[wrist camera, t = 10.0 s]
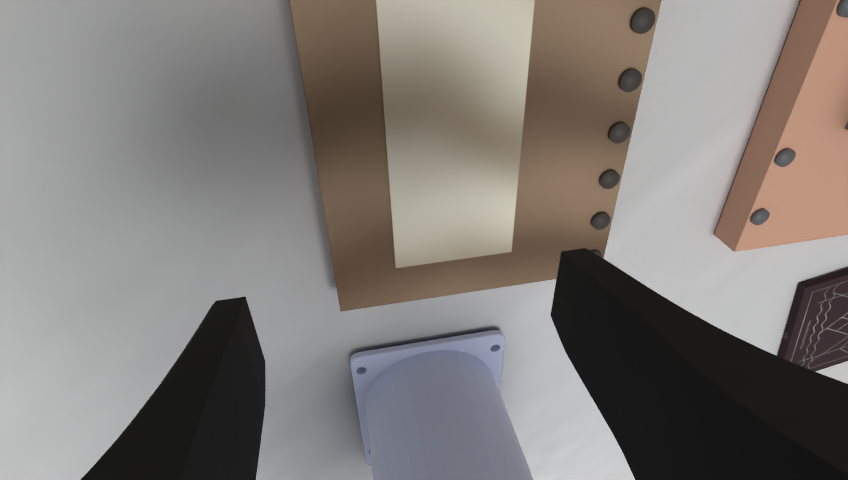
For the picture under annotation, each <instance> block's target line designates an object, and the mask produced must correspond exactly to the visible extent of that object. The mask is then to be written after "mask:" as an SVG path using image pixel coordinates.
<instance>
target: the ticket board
mask: <svg viewBox="0 0 848 480" xmlns="http://www.w3.org/2000/svg"><path fill="white" fill-rule="evenodd" d="M660 4H661V0H290V6H291V12H292V18H293V24H294V30H295V36H296V42H297V48H298V54H299V60H300V67H301V73H302V79H303V85H304V91H305V97H306V103H307V109H308V115H309V121H310V128H311V134H312V140H313V146H314V152H315V158H316V164H317V170H318V176H319V182H320V189H321V195H322V201H323V207H324V213H325V219H326V225H327V231H328V237H329V243H330V250H331V256H332V262H333V268H334V274H335V280H336V286H337V292H338V298H339V305H340V311H347V310H353V309H360V308H367V307H373V306H380V305H386V304H393V303H400V302H406V301H413V300H420V299H426V298H433V297H439V296H446V295H453V294H459V293H466V292H472V291H479V290H486V289H492V288H499V287H505V286H512V285H519V284H525V283H532V282H538V281H545V280H552V279H557V274H558V268H559V262H560V256H561V251H568V250H575V249H582V248H586V249H588V250H590V251H592V252H593V253H595V254H597V255H598V256H600V257H601V258H604V253H605V249H606V244H607V240H608V235H609V231H610V227H611V222H612V218H613V213H614V209H615V204H616V200H617V195H618V191H619V187H620V182H621V178H622V173H623V169H624V164H625V160H626V155H627V151H628V146H629V142H630V138H631V133H632V129H633V124H634V120H635V115H636V111H637V106H638V102H639V98H640V93H641V89H642V84H643V80H644V75H645V71H646V66H647V62H648V58H649V53H650V49H651V44H652V40H653V35H654V31H655V26H656V22H657V17H658V13H659V9H660Z"/></svg>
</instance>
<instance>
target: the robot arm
mask: <svg viewBox="0 0 848 480" xmlns="http://www.w3.org/2000/svg"><path fill="white" fill-rule="evenodd" d="M551 317H552V320H553V322H554V325H555V327H556V330H557V332H558V335H559V337H560V340H561V342H562V344H563V347H564V349H565V351H566V353H567V355H568V357H569V359H570V360H571V362H572V364H573V366H574V367H575V369H576V371H577V373H578V374H579V376H580V378H581V380H582V381H583V383H584V385H585V387H586V388H587V390H588V392H589V393H590V395H591V397H592V398H593V400H594V402H595V404H596V405H597V407H598V409H599V410H600V412H601V414H602V416H603V417H604V419H605V421H606V422H607V424H608V426H609V428H610V429H611V431H612V433H613V435H614V436H615V438H616V440H617V442H618V444H619V446H620V448H621V450H622V452H623V454H624V456H625V458H626V460H627V462H628V465H629V467H630V469H631V471H632V473H633V476H634V478H635V480H848V384H846V383H843V382H841V381H838V380H835V379H833V378H830V377H827V376H824V375H822V374H819V373H817V372H814V371H812V370H809V369H807V368H804V367H802V366H800V365H797V364H795V363H792V362H790V361H787V360H785V359H782V358H780V357H778V356H776V355H773V354H771V353H769V352H766V351H764V350H762V349H760V348H758V347H756V346H754V345H752V344H749V343H747V342H745V341H743V340H741V339H739V338H737V337H735V336H733V335H731V334H729V333H727V332H725V331H723V330H721V329H719V328H717V327H715V326H713V325H711V324H709V323H708V322H706V321H704V320H702V319H701V318H699V317H697V316H695V315H693V314H692V313H690V312H688V311H686V310H684V309H683V308H681V307H679V306H678V305H676V304H674V303H673V302H671V301H669V300H668V299H666V298H664V297H663V296H661V295H659V294H658V293H656V292H655V291H653V290H651V289H650V288H648V287H647V286H645V285H643V284H642V283H640V282H639V281H637V280H636V279H634V278H632V277H631V276H629V275H628V274H626V273H625V272H623V271H622V270H620V269H619V268H617V267H615V266H614V265H612V264H611V263H609V262H608V261H606V260H605V259H603V258H601V257H600V256H598V255H597V254H595V253H593V252H592V251H590V250H588V249H586V248H582V249H575V250H568V251H561V256H560V262H559V268H558V274H557V280H556V286H555V292H554V299H553V305H552V311H551ZM504 341H505V338H504V335H503V333H502V332H501V331H499V330H491V331H484V332H478V333H472V334H466V335H460V336H454V337H448V338H442V339H436V340H429V341H423V342H417V343H411V344H405V345H399V346H393V347H387V348H381V349H374V350H368V351H362V352H357V353H355V354H353V355H352V356H351V358H350V366H351V372H352V378H353V384H354V390H355V397H356V403H357V409H358V415H359V421H360V427H361V434H362V440H363V446H364V452H365V458H366V462H367V464H369V465H372V471H373V479H374V480H533V477H532V475H531V472H530V470H529V467H528V464H527V462H526V459H525V457H524V454H523V452H522V449H521V446H520V444H519V441H518V439H517V436H516V434H515V431H514V428H513V426H512V423H511V421H510V418H509V416H508V413H507V411H506V408H505V405H504V403H503V400H502V398H501V395H500V384H501V373H502V363H503V352H504ZM493 345H495V346H493ZM361 367H364V368H361ZM264 409H265V359H264V356H263V353H262V350H261V346H260V343H259V340H258V336H257V333H256V330H255V327H254V323H253V320H252V317H251V313H250V310H249V307H248V304H247V300H246V297H240V298H233V299H226V300H219V301H216V302H215V303H214V304H213V305H212V307H211V308H210V310H209V311H208V313H207V315H206V316H205V318H204V319H203V321H202V323H201V324H200V326H199V327H198V329H197V331H196V332H195V334H194V335H193V337H192V338H191V340H190V341H189V343H188V344H187V346H186V347H185V349H184V351H183V352H182V354H181V355H180V356H179V358H178V359H177V361H176V362H175V364H174V365H173V367H172V368H171V369H170V371H169V372H168V374H167V375H166V377H165V378H164V380H163V381H162V382H161V384H160V385H159V386H158V388H157V389H156V390H155V392H154V393H153V394H152V396H151V397H150V398H149V400H148V401H147V402H146V404H145V405H144V406H143V407H142V409H141V410H140V411H139V413H138V414H137V415H136V417H135V418H134V419H133V420H132V422H131V423H130V424H129V425H128V427H127V428H126V429H125V430H124V431H123V433H122V434H121V435H120V436H119V438H118V439H117V440H116V441H115V442H114V443H113V445H112V446H111V447H110V448H109V449H108V450H107V451H106V453H105V454H104V455H103V456H102V457H101V458H100V459H99V460H98V462H97V463H96V464H95V465H94V466H93V467H92V468H91V469H90V470H89V471H88V473H87V474H86V475H85V476H84V477H83V478H82V479H81V480H256V472H257V465H258V457H259V449H260V442H261V434H262V426H263V418H264Z"/></svg>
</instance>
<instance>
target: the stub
mask: <svg viewBox="0 0 848 480" xmlns="http://www.w3.org/2000/svg"><path fill="white" fill-rule="evenodd" d="M714 235H715V236H716V237H717V238H719V239H720V240H721V241H722V242H723V243H725V244H726V245H727V246H728V247H729V248H730V249H732V250H733V251H734V252H737V251H743V250H750V249H756V248H763V247H770V246H776V245H783V244H789V243H796V242H803V241H809V240H816V239H822V238H829V237H836V236H842V235H848V0H801V2H800V4H799V7H798V10H797V13H796V15H795V18H794V21H793V23H792V26H791V29H790V31H789V34H788V37H787V40H786V42H785V45H784V48H783V50H782V53H781V56H780V58H779V61H778V64H777V67H776V69H775V72H774V75H773V77H772V80H771V83H770V85H769V88H768V91H767V93H766V96H765V99H764V102H763V104H762V107H761V110H760V112H759V115H758V118H757V120H756V123H755V126H754V129H753V131H752V134H751V137H750V139H749V142H748V145H747V147H746V150H745V153H744V155H743V158H742V161H741V164H740V166H739V169H738V172H737V174H736V177H735V180H734V182H733V185H732V188H731V191H730V193H729V196H728V199H727V201H726V204H725V207H724V209H723V212H722V215H721V217H720V220H719V223H718V226H717V228H716V231H715V234H714Z"/></svg>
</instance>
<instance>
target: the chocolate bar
mask: <svg viewBox="0 0 848 480" xmlns="http://www.w3.org/2000/svg"><path fill="white" fill-rule="evenodd" d="M777 356H778V357H780V358H782V359H785V360H787V361H790V362H792V363H795V364H797V365H800V366H802V367H804V368H807V369H809V370H812V371H814V372H815V371H818V370H821V369H824V368H827V367H830V366H833V365H836V364H839V363H842V362H845V361H848V267H846V268H843V269H840V270H836V271H833V272H830V273H827V274H824V275H821V276H818V277H815V278H812V279H808V280H805V281H802V282H799V283H798V286H797V289H796V293H795V296H794V300H793V303H792V306H791V310H790V313H789V317H788V320H787V324H786V327H785V331H784V334H783V338H782V341H781V344H780V348H779V351H778V355H777Z"/></svg>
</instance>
